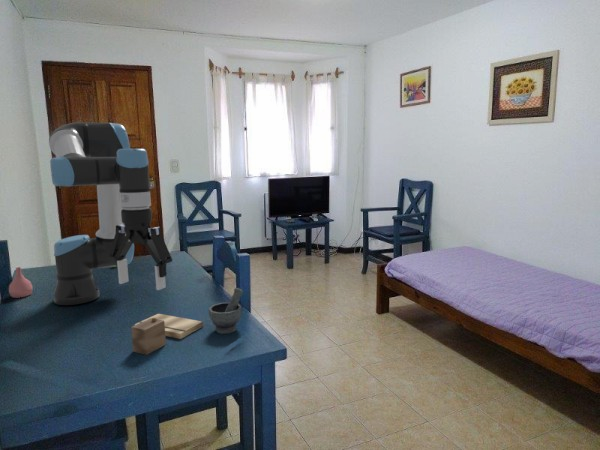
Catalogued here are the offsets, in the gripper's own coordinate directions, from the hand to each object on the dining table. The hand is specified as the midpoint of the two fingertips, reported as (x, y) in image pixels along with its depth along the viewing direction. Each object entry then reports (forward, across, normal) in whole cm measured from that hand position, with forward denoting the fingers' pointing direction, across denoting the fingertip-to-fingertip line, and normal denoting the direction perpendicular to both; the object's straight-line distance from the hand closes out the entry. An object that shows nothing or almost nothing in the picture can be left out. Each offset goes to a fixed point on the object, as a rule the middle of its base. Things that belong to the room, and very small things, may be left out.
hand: (142, 285), depth 114 cm
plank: (+17, -3, +12) cm, 21 cm away
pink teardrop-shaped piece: (+18, -77, +13) cm, 80 cm away
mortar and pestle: (+18, +14, +19) cm, 29 cm away
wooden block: (+17, +2, -1) cm, 17 cm away
